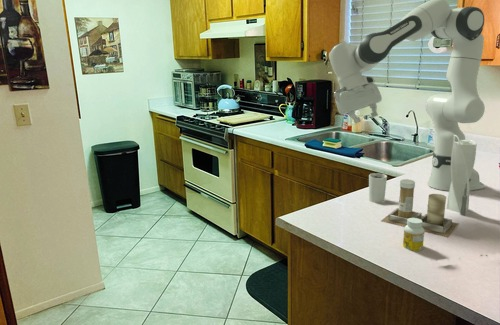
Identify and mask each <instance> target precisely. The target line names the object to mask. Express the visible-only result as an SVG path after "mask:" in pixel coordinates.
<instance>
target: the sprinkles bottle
mask: <svg viewBox="0 0 500 325" xmlns="http://www.w3.org/2000/svg"><path fill="white" fill-rule="evenodd" d="M399 187H400V189H399V199H398V208H399V211H398V217H403V218H407V219H408V218H412V211H413V206H414V190H415V188H416V182H415V181H414V180H413V179H408V178H405V179H401V180H400V182H399Z"/></svg>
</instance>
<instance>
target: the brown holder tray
mask: <svg viewBox="0 0 500 325" xmlns="http://www.w3.org/2000/svg"><path fill="white" fill-rule="evenodd" d="M398 211H399V207H397V208H395V209H394V210H393V211H391V212H390V213H389V214H387V215H386V216H385V217H384V218H383V219H382V220H380V222H382V223H386V224H391V225H394V226H398V227H403V228H405V226H406V225H407V218H403V217H398ZM412 218H418V219H420V220H422V227H423V229H424V233H428V234H432V235H437V236H441V237H445V238H449V237H450V236H451V234H452V233H453V232H454V231H455V230H456V228H457V227H458V226H459V224H460V222H459V223H458V222H454V221H453V219H452V218H446V217H444V223H443V227H442V226H438V225H433V224H429V223H426V220H427V213H425V214H424V215H423V214H422V212H419V211H415V210H412Z"/></svg>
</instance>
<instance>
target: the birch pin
mask: <svg viewBox="0 0 500 325" xmlns="http://www.w3.org/2000/svg"><path fill="white" fill-rule="evenodd" d="M446 201H447V196H445V195H444V194H441V193H430V194H429V195H428V201H427V211H426V214H427V220H426V223H429V224H433V225H438V226H442V227H443V223H444V218H445V212H446V205H447V202H446Z"/></svg>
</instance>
